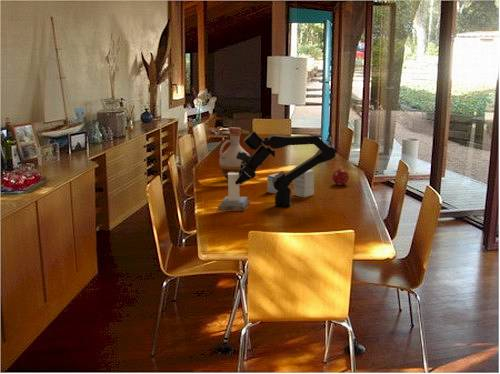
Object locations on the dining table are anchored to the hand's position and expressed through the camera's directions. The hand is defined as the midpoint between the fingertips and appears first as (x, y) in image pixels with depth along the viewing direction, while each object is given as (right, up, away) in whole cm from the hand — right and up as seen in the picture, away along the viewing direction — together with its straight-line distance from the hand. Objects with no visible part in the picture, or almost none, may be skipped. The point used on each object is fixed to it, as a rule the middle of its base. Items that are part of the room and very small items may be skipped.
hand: (235, 181), depth 243 cm
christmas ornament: (+55, -2, +43) cm, 70 cm away
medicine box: (+20, -5, +30) cm, 37 cm away
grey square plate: (-1, -12, +3) cm, 13 cm away
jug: (-2, 0, +54) cm, 54 cm away
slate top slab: (0, -10, +2) cm, 10 cm away
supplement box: (+33, -7, +23) cm, 41 cm away
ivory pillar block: (-1, -8, +2) cm, 8 cm away
